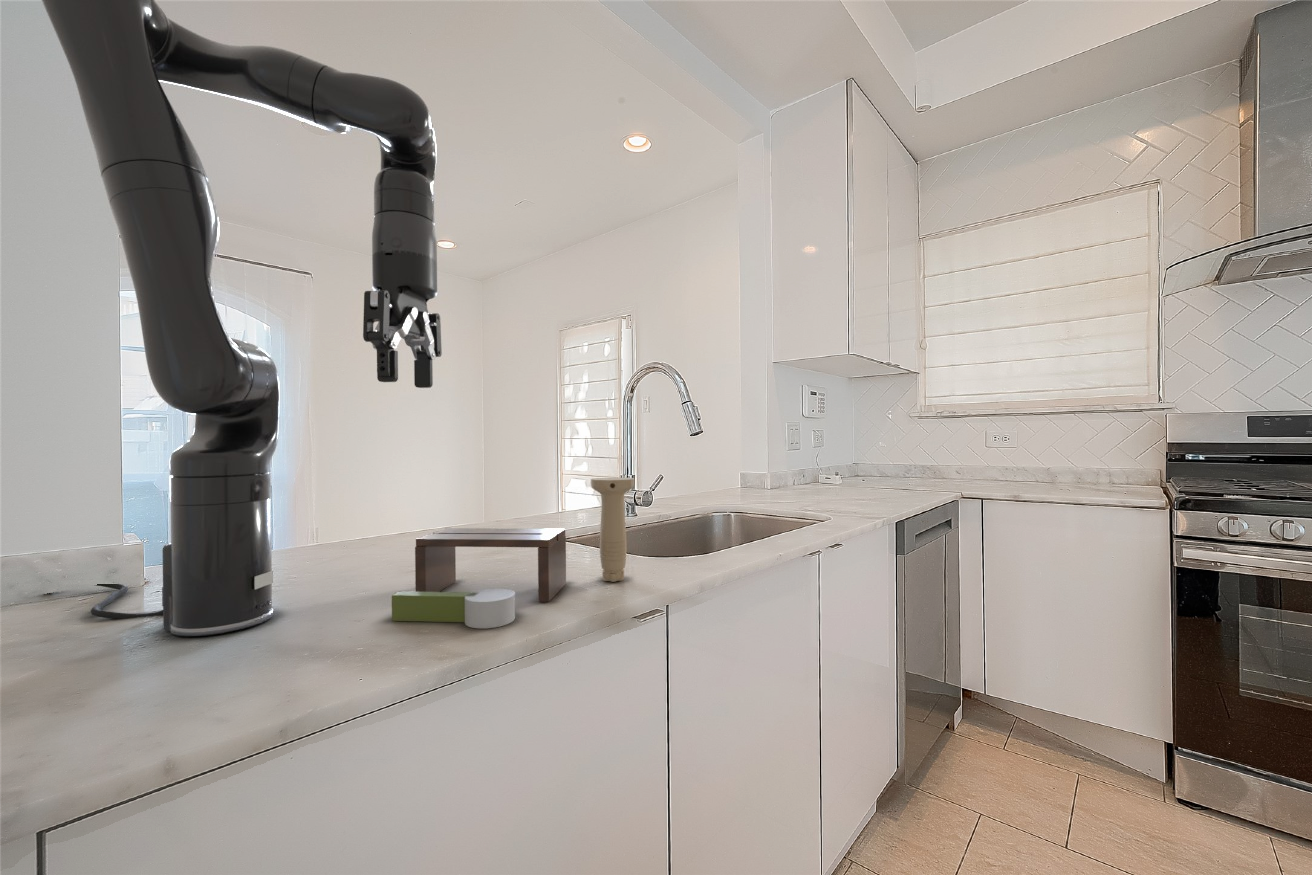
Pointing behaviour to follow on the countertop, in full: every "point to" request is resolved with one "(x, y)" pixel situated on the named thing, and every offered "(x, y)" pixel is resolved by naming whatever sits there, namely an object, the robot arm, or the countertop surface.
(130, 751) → the countertop surface
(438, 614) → the green handled white cylinder
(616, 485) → the handle
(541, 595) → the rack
